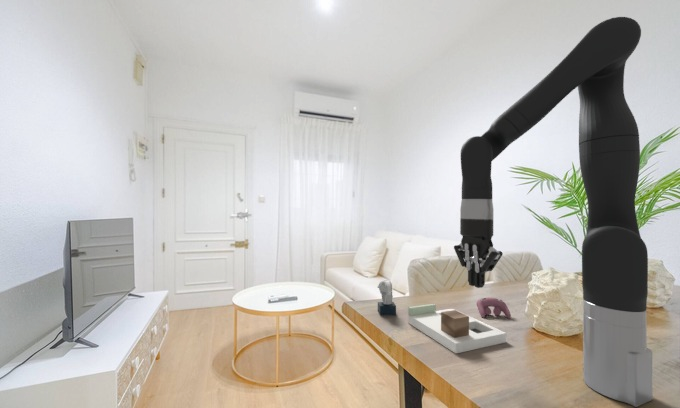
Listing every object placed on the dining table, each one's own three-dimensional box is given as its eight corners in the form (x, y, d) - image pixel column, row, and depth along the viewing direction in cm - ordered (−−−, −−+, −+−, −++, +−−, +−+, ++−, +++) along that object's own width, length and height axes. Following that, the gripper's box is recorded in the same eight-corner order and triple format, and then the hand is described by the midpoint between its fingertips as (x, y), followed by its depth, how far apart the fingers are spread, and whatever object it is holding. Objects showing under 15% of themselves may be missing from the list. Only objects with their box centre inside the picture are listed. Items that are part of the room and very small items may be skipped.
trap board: (506, 342, 76) (506, 323, 76) (455, 353, 69) (455, 333, 70) (452, 315, 95) (452, 301, 95) (408, 322, 88) (408, 307, 88)
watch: (391, 308, 101) (391, 278, 101) (397, 317, 93) (397, 284, 93) (376, 308, 100) (376, 278, 101) (380, 317, 92) (381, 284, 93)
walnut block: (468, 335, 74) (469, 316, 74) (454, 337, 72) (454, 318, 73) (454, 327, 79) (455, 310, 79) (441, 330, 77) (441, 312, 77)
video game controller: (506, 320, 96) (502, 299, 99) (513, 318, 92) (508, 296, 95) (477, 318, 97) (473, 297, 100) (482, 317, 93) (478, 295, 96)
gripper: (512, 218, 65) (512, 292, 65) (466, 216, 78) (466, 278, 77) (488, 218, 62) (488, 295, 62) (445, 216, 75) (444, 280, 74)
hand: (476, 286), depth 70 cm, fingers closed
